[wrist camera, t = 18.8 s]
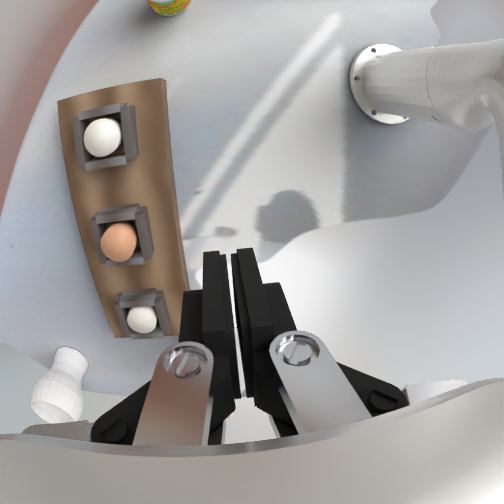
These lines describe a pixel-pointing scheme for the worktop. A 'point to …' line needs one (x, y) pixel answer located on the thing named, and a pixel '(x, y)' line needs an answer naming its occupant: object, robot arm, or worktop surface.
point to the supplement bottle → (169, 6)
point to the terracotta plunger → (119, 241)
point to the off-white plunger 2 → (142, 319)
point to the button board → (128, 202)
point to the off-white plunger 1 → (103, 136)
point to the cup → (61, 388)
